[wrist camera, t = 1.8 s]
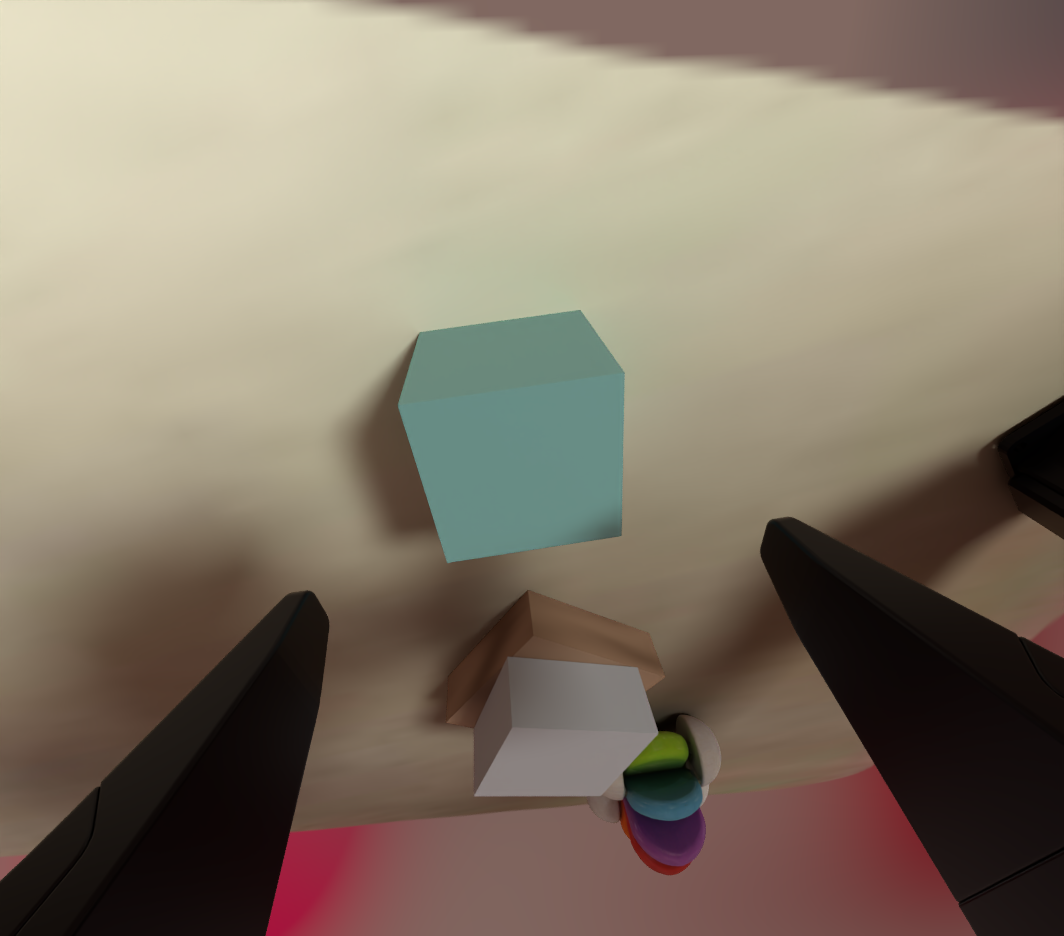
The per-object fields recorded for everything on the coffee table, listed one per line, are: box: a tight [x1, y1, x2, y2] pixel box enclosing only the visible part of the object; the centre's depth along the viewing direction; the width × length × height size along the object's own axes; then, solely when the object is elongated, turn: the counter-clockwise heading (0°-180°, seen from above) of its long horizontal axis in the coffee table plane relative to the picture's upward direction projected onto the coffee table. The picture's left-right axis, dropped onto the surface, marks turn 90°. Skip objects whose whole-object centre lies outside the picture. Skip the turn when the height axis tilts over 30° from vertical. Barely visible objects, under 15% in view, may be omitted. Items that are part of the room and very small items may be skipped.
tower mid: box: [474, 657, 659, 796], centre depth 21 cm, size 6×6×3 cm
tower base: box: [446, 590, 665, 728], centre depth 23 cm, size 8×8×3 cm
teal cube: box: [398, 310, 625, 563], centre depth 13 cm, size 5×5×5 cm
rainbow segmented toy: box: [587, 715, 721, 875], centre depth 29 cm, size 8×10×7 cm
